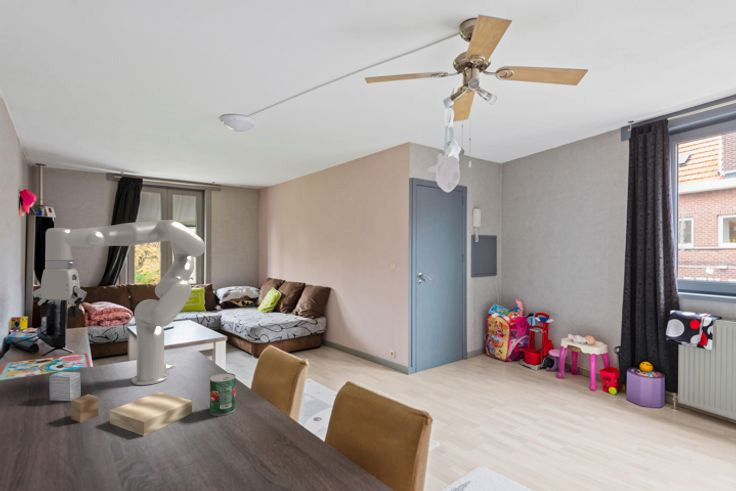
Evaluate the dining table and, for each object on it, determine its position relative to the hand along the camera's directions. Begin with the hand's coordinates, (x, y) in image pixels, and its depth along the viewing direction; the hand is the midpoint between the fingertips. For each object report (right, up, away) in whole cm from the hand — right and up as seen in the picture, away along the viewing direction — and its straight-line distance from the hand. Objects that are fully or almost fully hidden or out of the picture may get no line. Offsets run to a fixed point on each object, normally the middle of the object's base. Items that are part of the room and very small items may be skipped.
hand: (59, 317), depth 127 cm
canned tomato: (+55, -30, -2) cm, 63 cm away
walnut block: (+14, -30, -8) cm, 34 cm away
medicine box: (-3, -30, +6) cm, 30 cm away
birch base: (+35, -30, -8) cm, 47 cm away
